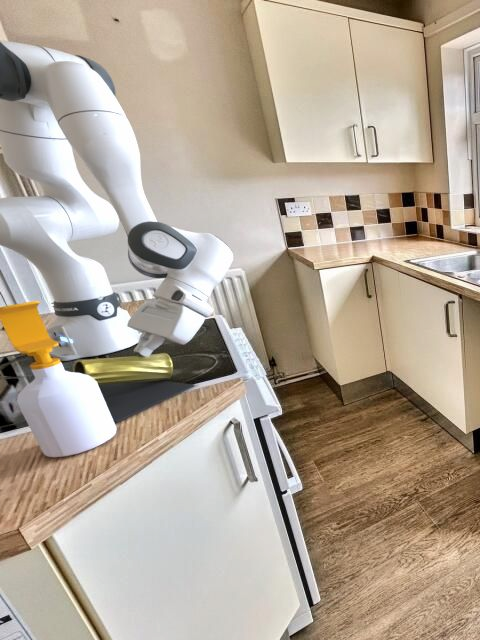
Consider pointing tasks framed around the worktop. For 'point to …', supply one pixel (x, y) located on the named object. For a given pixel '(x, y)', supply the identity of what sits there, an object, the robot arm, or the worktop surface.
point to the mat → (138, 396)
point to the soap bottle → (55, 390)
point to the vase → (126, 368)
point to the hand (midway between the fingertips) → (140, 354)
